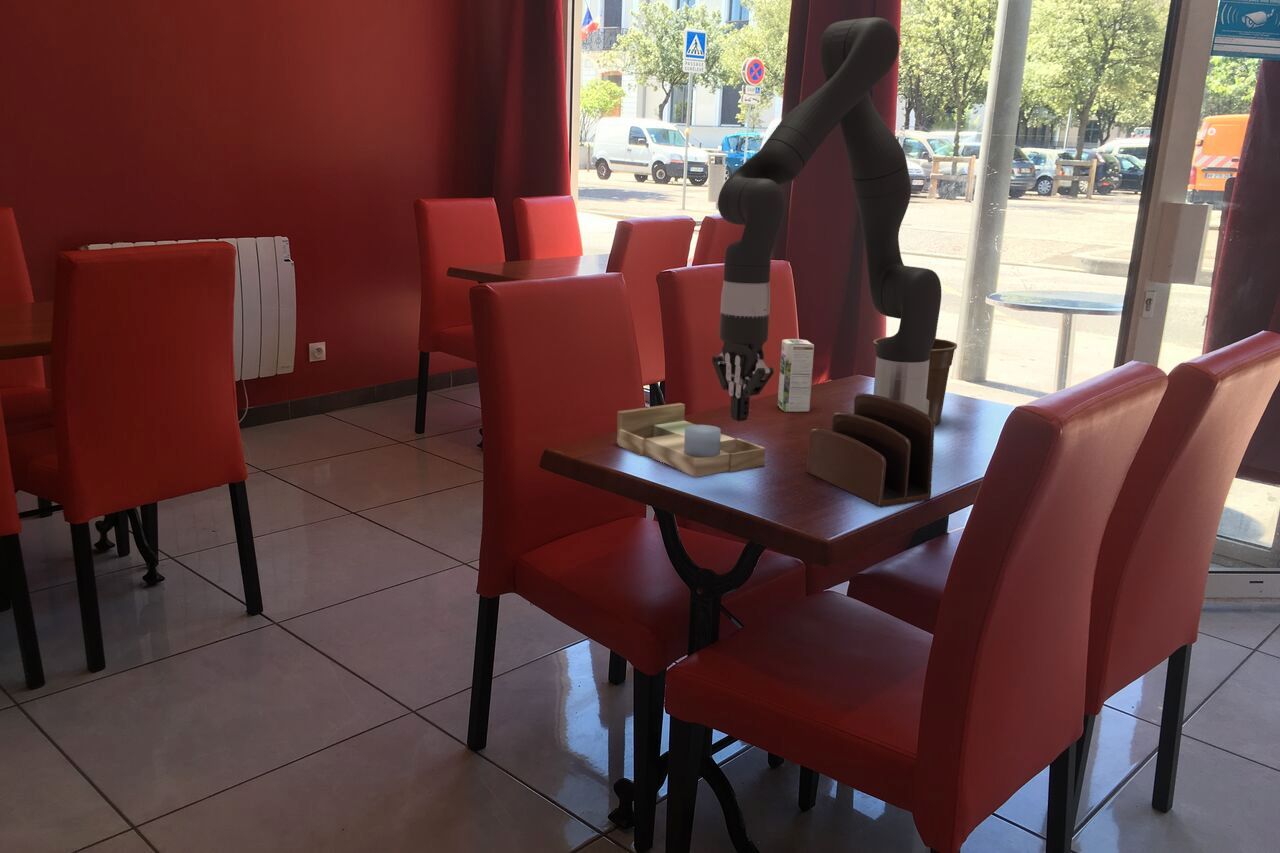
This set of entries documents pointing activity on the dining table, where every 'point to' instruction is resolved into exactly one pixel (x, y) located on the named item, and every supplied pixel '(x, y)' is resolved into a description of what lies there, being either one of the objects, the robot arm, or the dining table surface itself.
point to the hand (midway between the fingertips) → (738, 419)
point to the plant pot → (936, 375)
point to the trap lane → (680, 442)
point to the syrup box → (795, 375)
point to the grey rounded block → (702, 441)
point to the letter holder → (876, 451)
